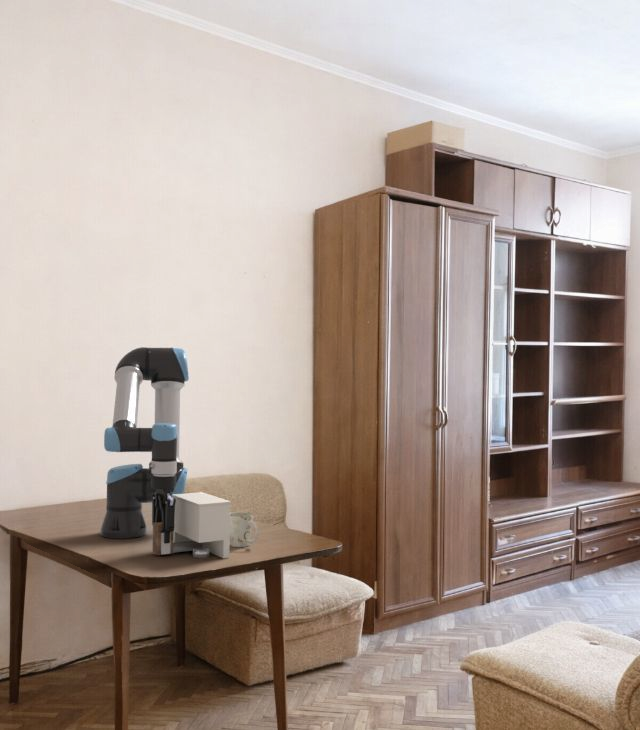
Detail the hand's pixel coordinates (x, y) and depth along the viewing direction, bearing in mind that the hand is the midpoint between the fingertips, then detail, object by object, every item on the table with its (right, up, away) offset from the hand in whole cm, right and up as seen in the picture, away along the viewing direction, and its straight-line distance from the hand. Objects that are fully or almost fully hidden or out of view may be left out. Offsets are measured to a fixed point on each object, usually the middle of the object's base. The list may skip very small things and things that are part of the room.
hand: (162, 552), depth 237 cm
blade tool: (+4, 0, +3) cm, 5 cm away
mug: (+23, -2, +14) cm, 27 cm away
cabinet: (+11, -1, +4) cm, 11 cm away
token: (+12, -1, 0) cm, 12 cm away
